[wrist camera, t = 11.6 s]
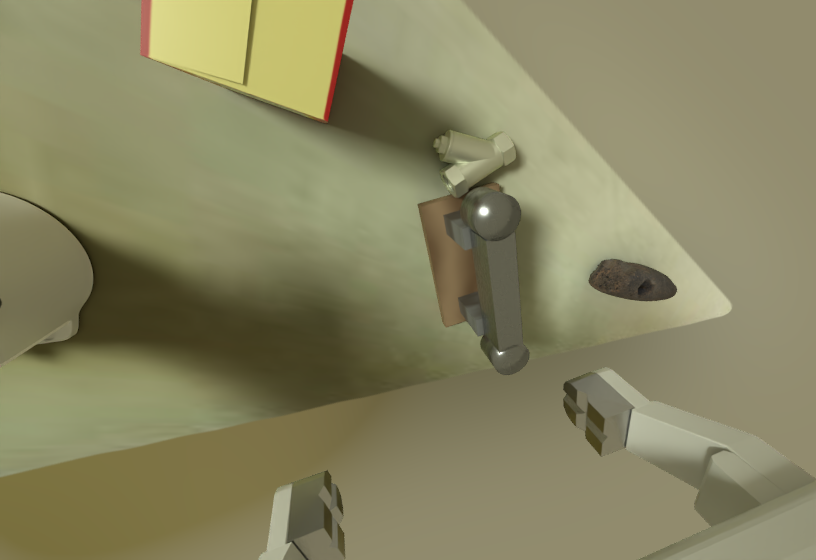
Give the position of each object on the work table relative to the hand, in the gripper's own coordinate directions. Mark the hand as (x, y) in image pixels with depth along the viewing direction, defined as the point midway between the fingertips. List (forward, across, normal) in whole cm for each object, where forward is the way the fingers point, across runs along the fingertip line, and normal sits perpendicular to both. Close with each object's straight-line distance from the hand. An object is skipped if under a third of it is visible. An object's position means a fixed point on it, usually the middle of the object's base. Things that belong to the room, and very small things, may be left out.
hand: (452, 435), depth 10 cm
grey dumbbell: (+24, -12, +10) cm, 28 cm away
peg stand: (+31, -12, +10) cm, 35 cm away
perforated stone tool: (+32, -37, +21) cm, 53 cm away
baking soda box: (+31, +3, -15) cm, 35 cm away
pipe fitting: (+32, -14, -4) cm, 35 cm away
